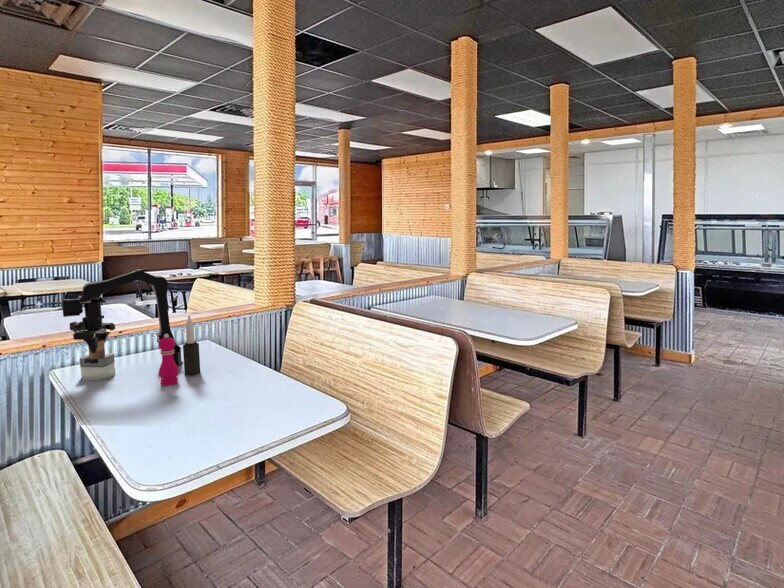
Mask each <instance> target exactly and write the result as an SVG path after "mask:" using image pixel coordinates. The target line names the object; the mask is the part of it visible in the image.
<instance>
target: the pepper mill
mask: <svg viewBox="0 0 784 588" xmlns="http://www.w3.org/2000/svg"><path fill="white" fill-rule="evenodd" d="M174 340H175V339H174ZM174 340H173V339H172V338H169V335H168V334H165V335H164V338H163V339H161V340H160V341H159V344H158V343H157V344H158V348H159V350H160V351H159V352H160V355H161V364H160V367H159V369H158V376H159V378H161V379H160V385H161V386H163V385H165V387H166V386H169V385H170V386H174V385H176V384H178V383H179V378H178V375H179V374H180V373H179V372H180V371H179V366H177V365H176V363H175V361H174V357H173V353H174V349H173V348H174V347H175V343H176V340H175V341H174Z"/></svg>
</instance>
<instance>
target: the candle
mask: <svg viewBox="0 0 784 588" xmlns="http://www.w3.org/2000/svg"><path fill="white" fill-rule="evenodd" d="M194 328H195V327H194V322H193V320H192V319H191V315H187V321H186V322H185V333H186V335H185V336H186V342H184V344H182V353H183V370H184V376H187V375H189V377H195V376H197V375H198V373H199V374H201V360H200V345H199V342H197V341H195V329H194ZM196 374H197V375H196ZM194 375H195V376H194Z"/></svg>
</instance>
